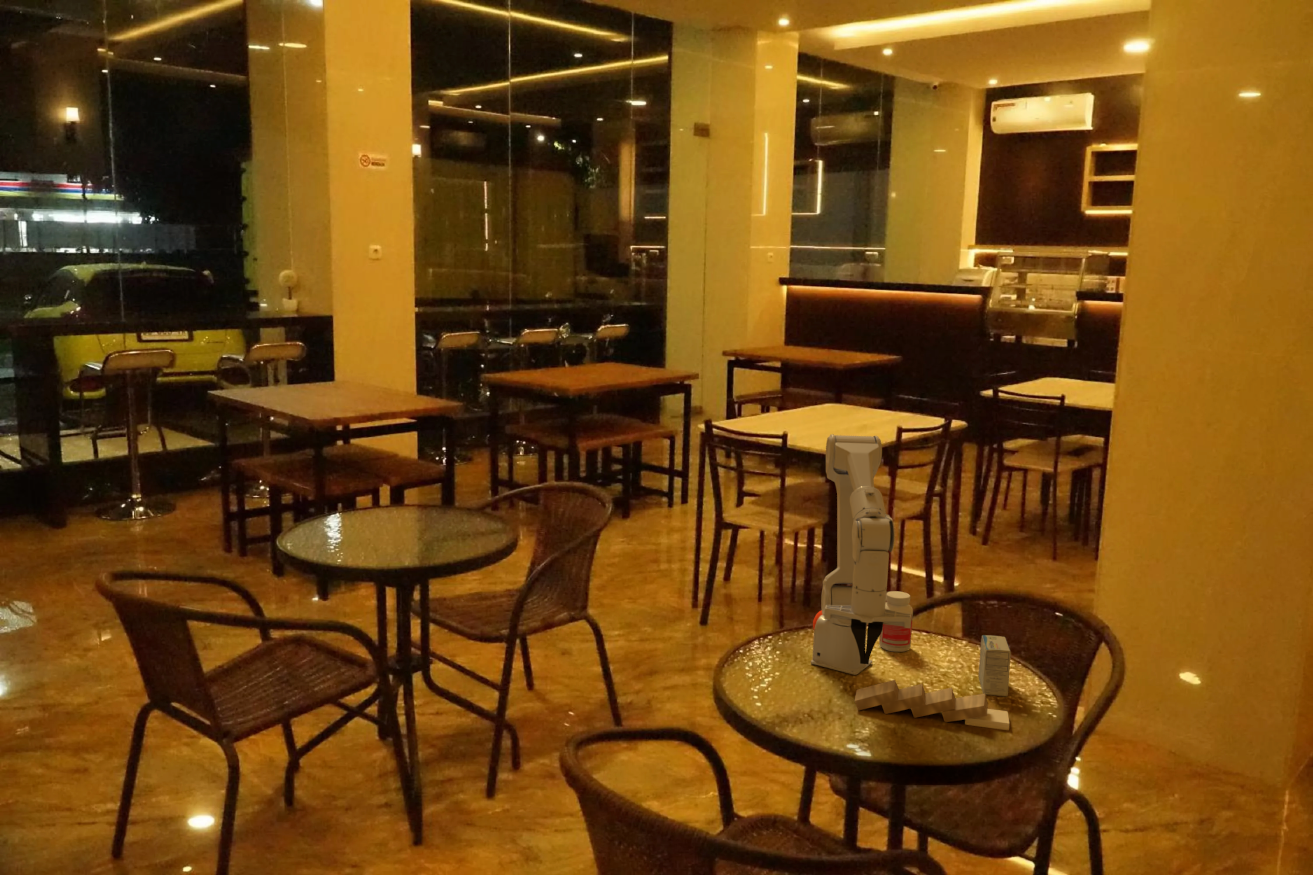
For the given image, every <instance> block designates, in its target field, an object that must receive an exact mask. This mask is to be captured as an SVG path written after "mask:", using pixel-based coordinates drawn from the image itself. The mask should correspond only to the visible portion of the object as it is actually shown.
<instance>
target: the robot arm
mask: <svg viewBox="0 0 1313 875" xmlns="http://www.w3.org/2000/svg"><path fill="white" fill-rule="evenodd" d="M882 456H883V446H882V440H881V439H880V437H879V436H877V435H872V436H871V435H863V436H862V435H861V436H860V435H841V434H840V435H838V434H837V435H835V434H833V433H832V434H830V435H829V436H828V437H827V439H826V444H825V474H826V478H827V479H828V480H829V481H830V480H831V481H832V482H834V485H835V489H836V493H837V495H836V496H837V497H836V499H837V501H836V502H837V504H836V505H837V508H836V510H837V514H836V516H837V518H836V520H837V521H836V522H837V523H836V524H837V529H836V530H837V532H836V533H837V537H836V538H837V542H836V543H837V545H836V550H837V551H836V553H837V554H836V555H837V558H836V559H837V560H836V561H837V564H836V565H837V566H836V568H835V569H834V570H833V571H831V572H829V573H828V574H827V575H826V576H825V577H824V578H823V580H822V590H821V596H820V599H821V602H820V603H821V606H820V607H821V610H822V614H823V615H821V616H820V617H819V618H818V620H817V622H816V625H815V629H813V644H812V645H813V646H812V658H811V660H810V664H812V665H815V666H819V667H824V668H827V669H831V670H834V671H838V672H842V673H846V674H849V675H855V676H857V675H858V674H859V673H861V672H862V671H864V670H865V669H866V668H868V667H869V666H870V665H872V664H873V660H872V659H870V657H871V654H872V651H873V649H874V647H875V644H876V642H877V640H878V639H879V638H880V634H881V632H882V629H883V624H887V625H896V626H904V628H911V614H906V613H901V612H896V611H892V610H887V609H885V604H886V602H887V601H886V594H887V590H888V589H887V588H888V587H887V586H888V576H889V575H888V574H889V572H888V571H889V561H890V560H889V558H890V553H892V552H893V550H894V547H895V545H894V544H895V538H896V531H895V524H894V519H893V518H892V517H891V515H890V514H887V512H886V508H885V502H884V499H883V498H884V497H883V494H882V492H881V491H880V489H878V488H877V487H875V480H874V479H875V476H876V475H877V472H878V470H879V467H880V466H881V462H882ZM835 584H838V585H835ZM840 584H841V585H840Z"/></svg>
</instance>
